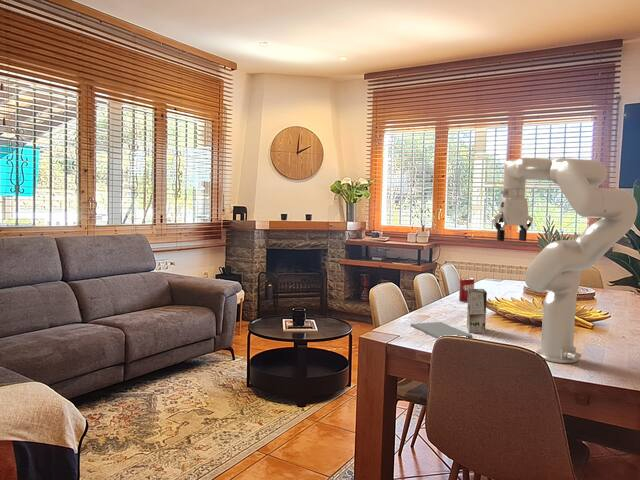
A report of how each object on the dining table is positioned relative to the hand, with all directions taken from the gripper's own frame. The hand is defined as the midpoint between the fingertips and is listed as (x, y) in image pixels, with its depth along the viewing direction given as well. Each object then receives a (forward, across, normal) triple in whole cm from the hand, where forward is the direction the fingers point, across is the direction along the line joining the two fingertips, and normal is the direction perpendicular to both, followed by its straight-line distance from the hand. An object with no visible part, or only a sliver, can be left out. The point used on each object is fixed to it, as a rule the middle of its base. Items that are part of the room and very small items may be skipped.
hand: (511, 240), depth 184 cm
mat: (+37, -19, +16) cm, 44 cm away
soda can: (+37, +28, +67) cm, 81 cm away
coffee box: (+37, -4, +14) cm, 40 cm away
